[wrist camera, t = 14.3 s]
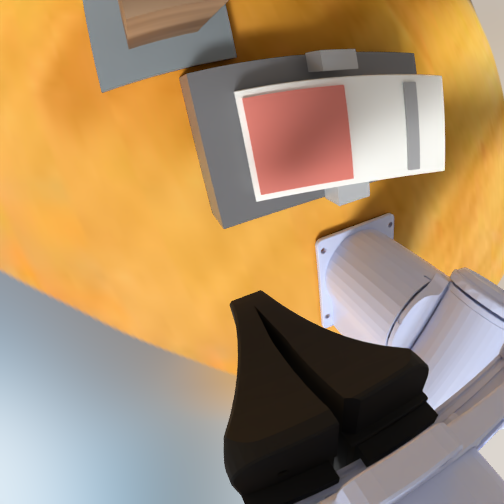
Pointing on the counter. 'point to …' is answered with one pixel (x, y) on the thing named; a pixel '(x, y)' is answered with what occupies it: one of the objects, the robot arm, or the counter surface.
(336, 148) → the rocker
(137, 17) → the brown rectangular block
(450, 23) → the counter surface
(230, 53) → the mat
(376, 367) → the robot arm
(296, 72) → the switch housing
